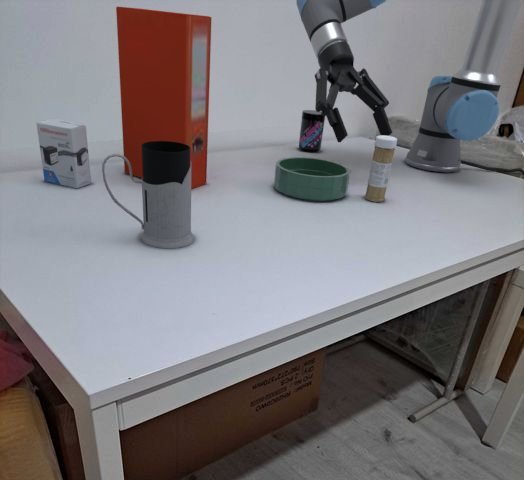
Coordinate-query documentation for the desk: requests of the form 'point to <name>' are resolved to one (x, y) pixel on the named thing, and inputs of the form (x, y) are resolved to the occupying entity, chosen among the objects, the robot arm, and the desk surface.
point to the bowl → (311, 178)
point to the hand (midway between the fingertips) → (365, 137)
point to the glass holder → (163, 193)
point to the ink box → (64, 152)
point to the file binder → (164, 83)
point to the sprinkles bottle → (380, 168)
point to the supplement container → (311, 131)
